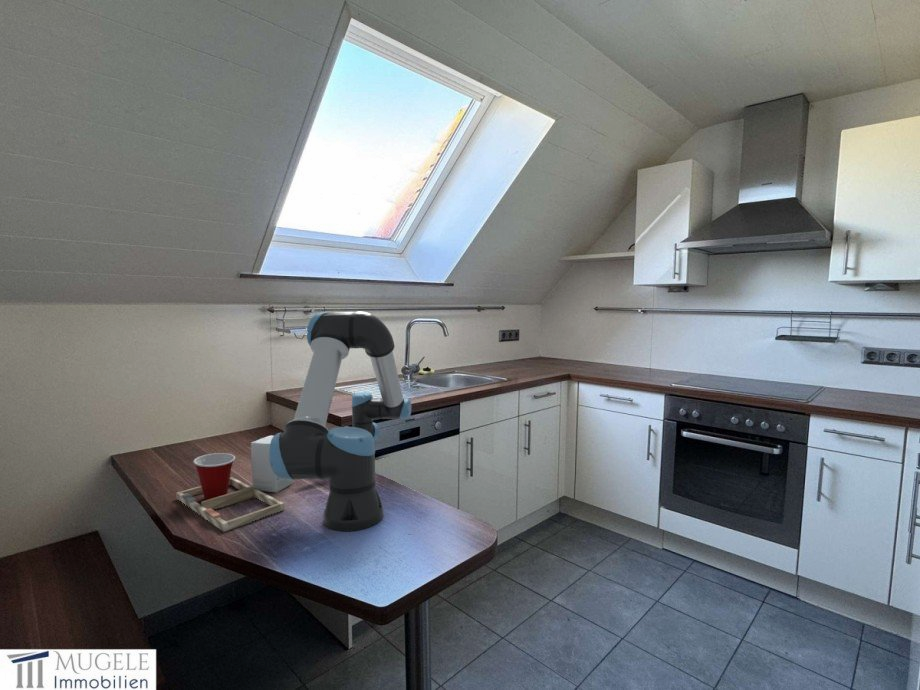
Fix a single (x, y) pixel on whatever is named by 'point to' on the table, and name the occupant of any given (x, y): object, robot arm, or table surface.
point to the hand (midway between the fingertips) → (290, 455)
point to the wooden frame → (243, 494)
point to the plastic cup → (214, 473)
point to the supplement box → (265, 468)
